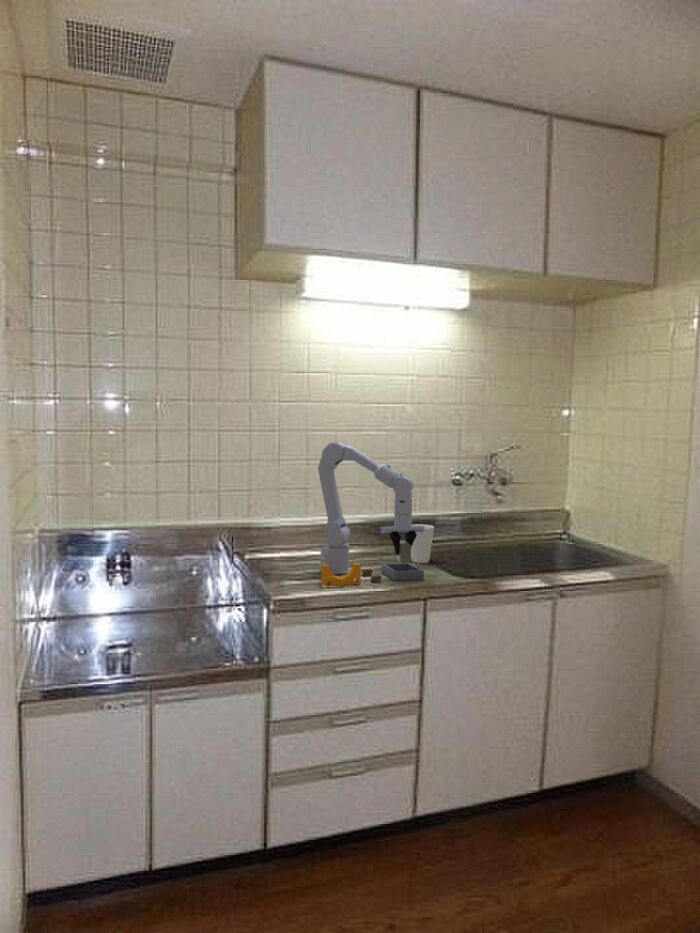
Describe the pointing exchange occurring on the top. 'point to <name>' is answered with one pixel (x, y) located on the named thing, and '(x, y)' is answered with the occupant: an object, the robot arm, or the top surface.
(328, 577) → the pipe clamp
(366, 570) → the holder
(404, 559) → the grey block
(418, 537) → the foam cup
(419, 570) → the parts tray
